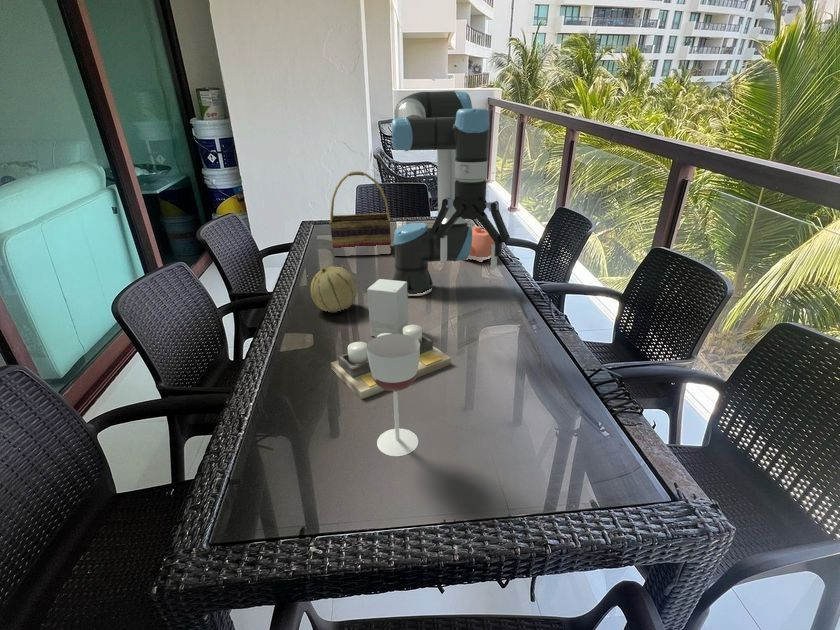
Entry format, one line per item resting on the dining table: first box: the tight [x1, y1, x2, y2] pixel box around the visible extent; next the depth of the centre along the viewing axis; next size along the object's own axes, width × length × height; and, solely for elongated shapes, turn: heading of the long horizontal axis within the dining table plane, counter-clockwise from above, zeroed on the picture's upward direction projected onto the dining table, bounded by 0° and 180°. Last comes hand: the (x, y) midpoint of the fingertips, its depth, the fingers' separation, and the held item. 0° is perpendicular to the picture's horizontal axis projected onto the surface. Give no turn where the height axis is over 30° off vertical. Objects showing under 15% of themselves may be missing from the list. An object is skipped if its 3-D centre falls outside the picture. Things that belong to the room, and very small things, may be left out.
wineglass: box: [367, 334, 420, 457], centre depth 87 cm, size 9×10×22 cm
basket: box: [328, 171, 392, 249], centre depth 202 cm, size 26×15×35 cm, turn 96°
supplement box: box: [366, 278, 410, 337], centre depth 133 cm, size 9×9×15 cm
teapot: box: [469, 225, 494, 257], centre depth 194 cm, size 18×18×14 cm
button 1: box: [347, 341, 368, 364], centre depth 113 cm, size 5×5×4 cm
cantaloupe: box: [310, 266, 358, 313], centre depth 147 cm, size 15×15×15 cm
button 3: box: [403, 324, 423, 343], centre depth 121 cm, size 5×5×4 cm
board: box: [330, 334, 452, 400], centre depth 117 cm, size 16×26×4 cm, turn 125°
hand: (468, 264), depth 118 cm, fingers open, 13 cm apart
